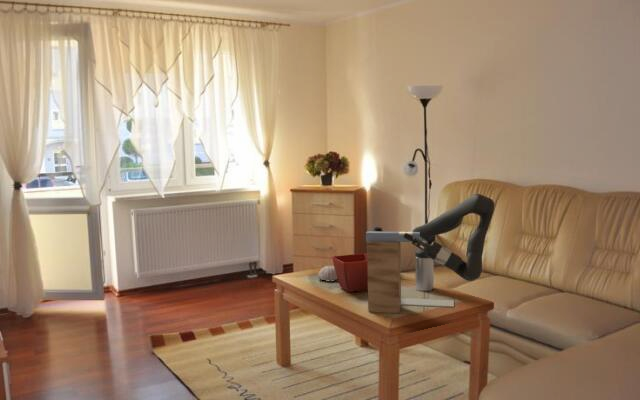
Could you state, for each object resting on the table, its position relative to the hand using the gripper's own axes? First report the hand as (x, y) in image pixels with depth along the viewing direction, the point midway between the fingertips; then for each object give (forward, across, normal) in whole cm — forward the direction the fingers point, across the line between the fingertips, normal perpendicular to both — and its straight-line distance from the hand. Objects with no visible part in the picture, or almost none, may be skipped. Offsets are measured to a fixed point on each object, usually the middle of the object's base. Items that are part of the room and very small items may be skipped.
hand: (405, 234), depth 248 cm
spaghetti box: (+3, 0, +6) cm, 7 cm away
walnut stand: (-9, 0, +35) cm, 37 cm away
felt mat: (-25, -13, +26) cm, 39 cm away
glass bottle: (+1, -68, +42) cm, 80 cm away
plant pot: (+8, -34, +46) cm, 57 cm away
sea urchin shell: (+23, -52, +55) cm, 79 cm away
